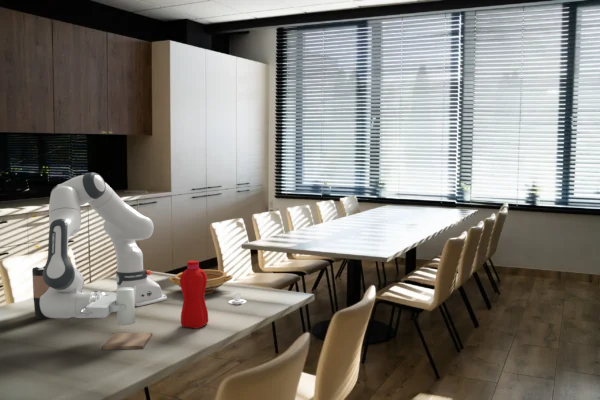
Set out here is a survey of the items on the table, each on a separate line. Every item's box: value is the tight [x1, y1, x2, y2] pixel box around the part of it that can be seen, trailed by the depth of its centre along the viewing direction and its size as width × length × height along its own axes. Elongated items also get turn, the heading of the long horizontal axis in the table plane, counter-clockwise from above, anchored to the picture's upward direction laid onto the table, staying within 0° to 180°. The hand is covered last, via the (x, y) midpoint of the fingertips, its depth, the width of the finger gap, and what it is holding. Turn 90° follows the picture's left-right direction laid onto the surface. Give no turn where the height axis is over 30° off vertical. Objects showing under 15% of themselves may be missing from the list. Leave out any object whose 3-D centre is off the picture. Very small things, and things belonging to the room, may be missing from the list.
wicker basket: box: [168, 269, 233, 295], centre depth 278 cm, size 30×24×8 cm
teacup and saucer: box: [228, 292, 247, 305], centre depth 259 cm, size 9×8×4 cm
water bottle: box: [179, 260, 209, 329], centre depth 226 cm, size 9×11×25 cm
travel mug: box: [31, 265, 50, 320], centre depth 240 cm, size 8×8×20 cm
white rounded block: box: [115, 287, 136, 326], centre depth 207 cm, size 6×6×12 cm
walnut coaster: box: [101, 332, 153, 350], centre depth 208 cm, size 14×14×1 cm
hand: (128, 304), depth 207 cm, fingers closed on white rounded block, 6 cm apart
